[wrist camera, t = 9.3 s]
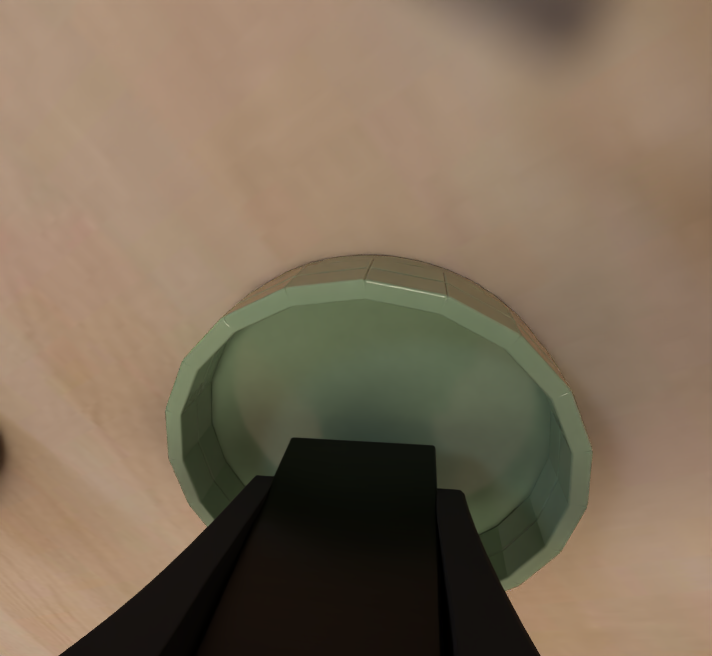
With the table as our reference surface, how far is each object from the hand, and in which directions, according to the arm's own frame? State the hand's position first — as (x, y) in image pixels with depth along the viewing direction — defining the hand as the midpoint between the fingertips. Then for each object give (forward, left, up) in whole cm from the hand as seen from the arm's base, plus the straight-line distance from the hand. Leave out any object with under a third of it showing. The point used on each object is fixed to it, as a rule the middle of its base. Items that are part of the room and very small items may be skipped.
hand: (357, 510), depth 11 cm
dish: (0, 0, -3) cm, 3 cm away
